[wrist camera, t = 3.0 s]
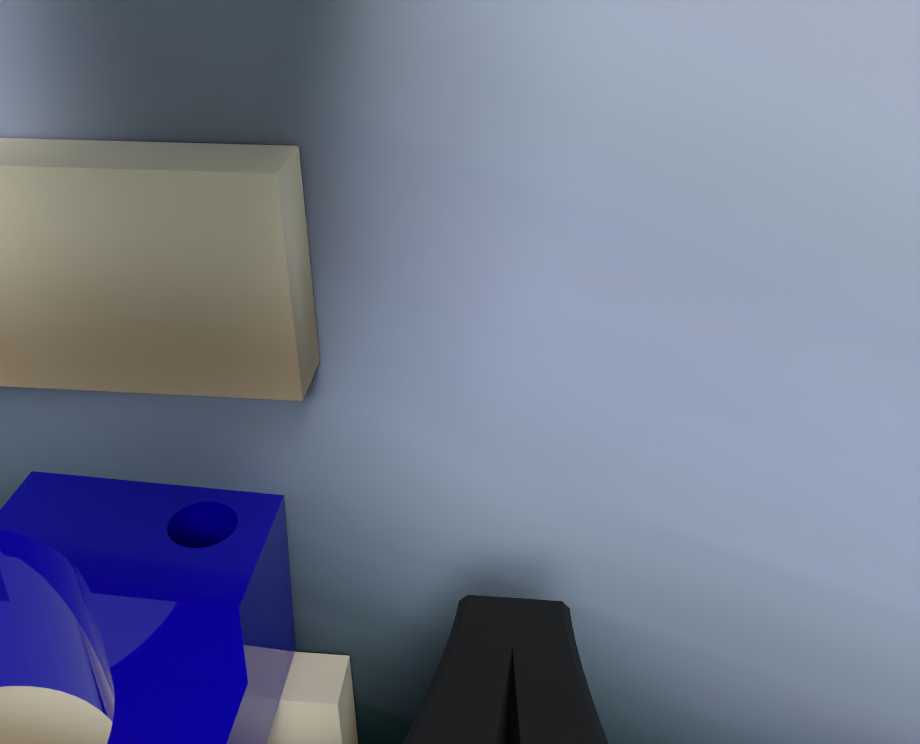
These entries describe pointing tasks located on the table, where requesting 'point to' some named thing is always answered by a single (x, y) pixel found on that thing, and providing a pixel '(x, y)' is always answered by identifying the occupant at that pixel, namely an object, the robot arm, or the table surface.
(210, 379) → the birch track
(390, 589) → the table surface
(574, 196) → the table surface
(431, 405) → the table surface
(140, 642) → the cable holder
